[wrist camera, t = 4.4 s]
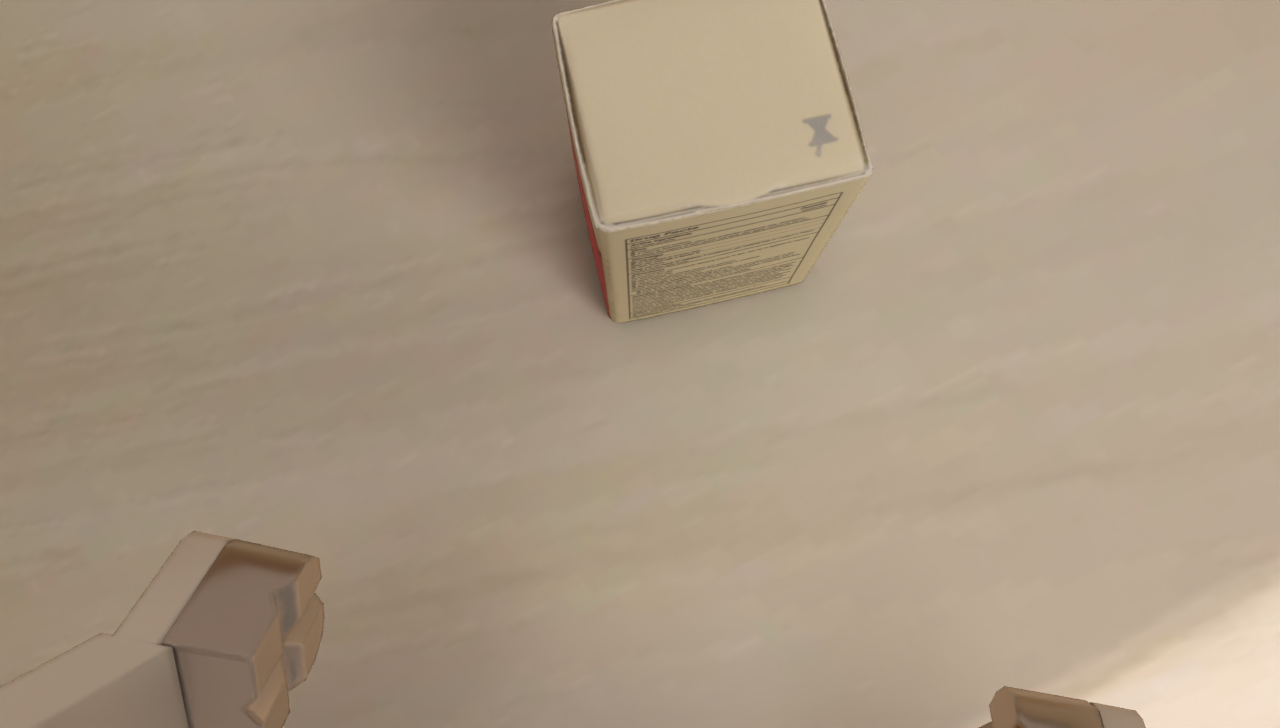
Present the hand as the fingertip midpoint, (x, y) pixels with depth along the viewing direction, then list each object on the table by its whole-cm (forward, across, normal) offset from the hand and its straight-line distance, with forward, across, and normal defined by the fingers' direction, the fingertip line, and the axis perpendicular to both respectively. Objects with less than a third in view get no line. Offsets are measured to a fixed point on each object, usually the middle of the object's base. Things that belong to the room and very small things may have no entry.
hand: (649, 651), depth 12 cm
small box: (+15, +1, +2) cm, 15 cm away
